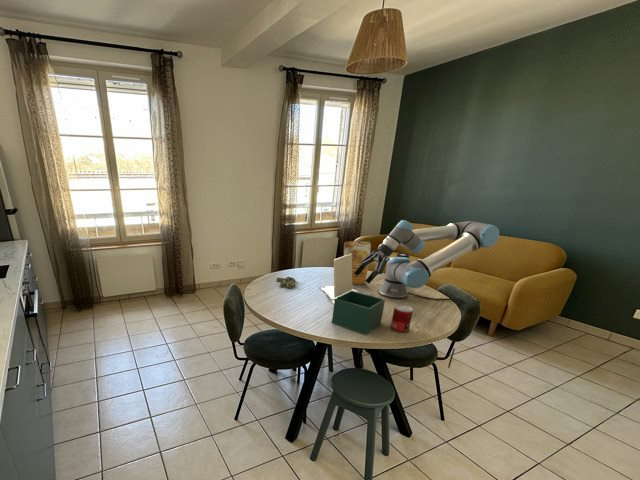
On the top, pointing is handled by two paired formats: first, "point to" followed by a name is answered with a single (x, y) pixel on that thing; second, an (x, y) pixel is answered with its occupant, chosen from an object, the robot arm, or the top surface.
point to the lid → (342, 275)
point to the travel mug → (403, 255)
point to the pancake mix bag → (358, 258)
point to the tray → (332, 292)
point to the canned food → (401, 318)
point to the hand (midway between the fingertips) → (361, 278)
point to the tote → (358, 311)
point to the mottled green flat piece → (289, 285)
